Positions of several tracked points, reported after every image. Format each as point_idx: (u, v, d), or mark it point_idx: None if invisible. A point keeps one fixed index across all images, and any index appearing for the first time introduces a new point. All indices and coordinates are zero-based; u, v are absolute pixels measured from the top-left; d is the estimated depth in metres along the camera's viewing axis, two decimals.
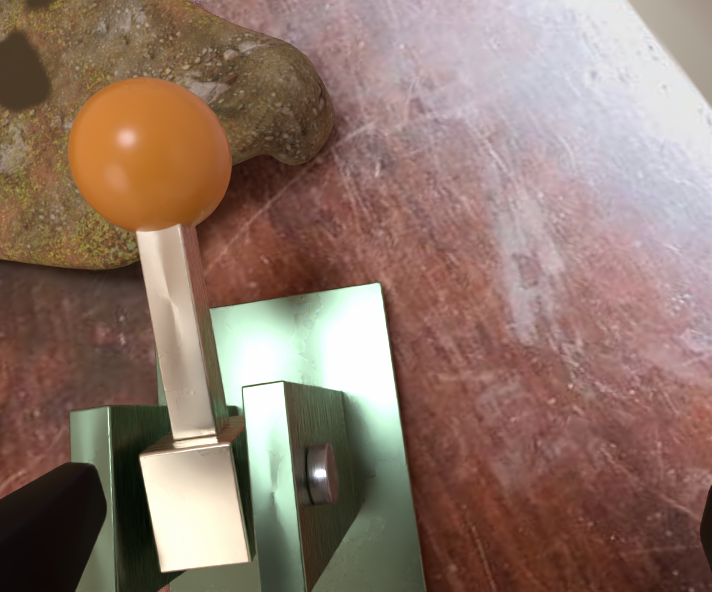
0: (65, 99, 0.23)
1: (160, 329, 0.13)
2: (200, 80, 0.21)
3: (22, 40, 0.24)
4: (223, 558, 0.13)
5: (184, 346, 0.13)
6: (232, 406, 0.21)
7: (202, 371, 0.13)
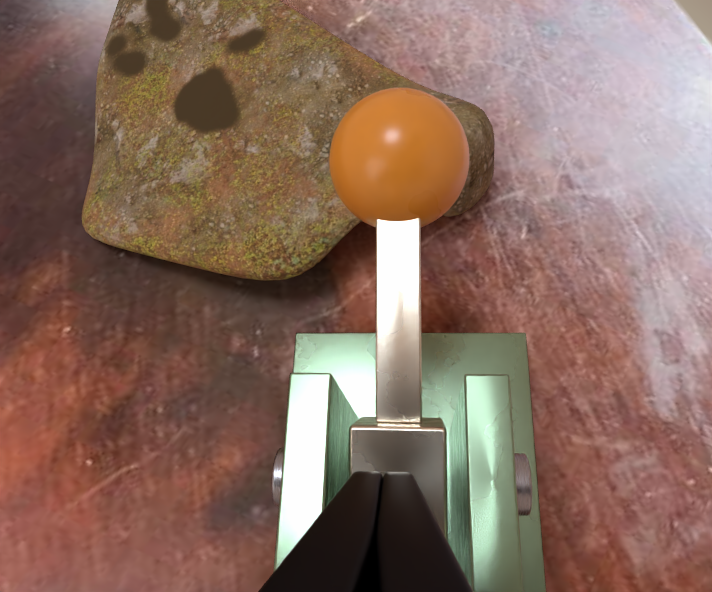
0: (251, 127, 0.25)
1: (384, 312, 0.14)
2: None
3: (218, 75, 0.27)
4: None
5: (404, 331, 0.14)
6: None
7: (416, 359, 0.14)
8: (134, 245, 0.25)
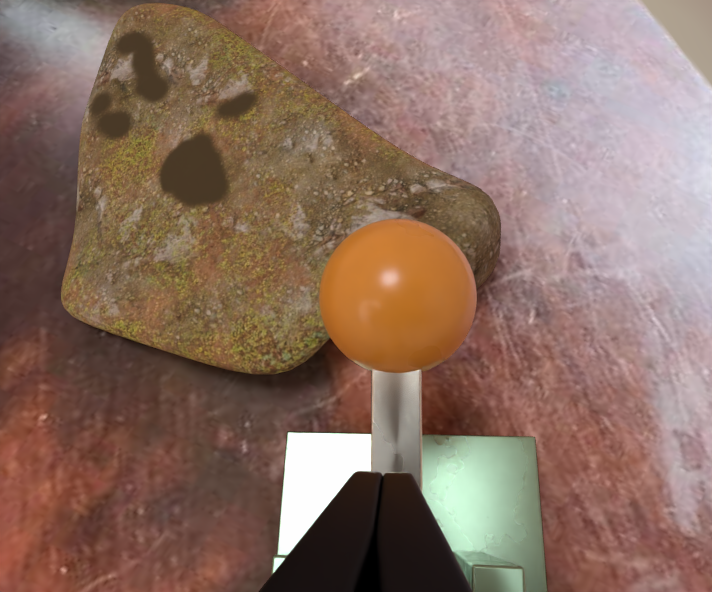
0: (240, 202, 0.23)
1: None
2: (383, 208, 0.21)
3: (207, 142, 0.25)
4: None
5: None
6: None
7: None
8: (115, 329, 0.23)
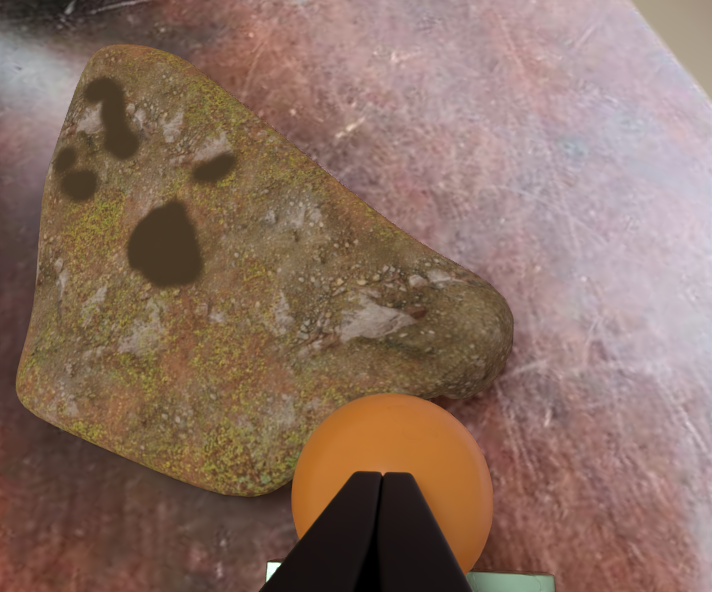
0: (216, 286, 0.21)
1: None
2: (378, 303, 0.18)
3: (180, 211, 0.22)
4: None
5: None
6: None
7: None
8: (74, 431, 0.20)
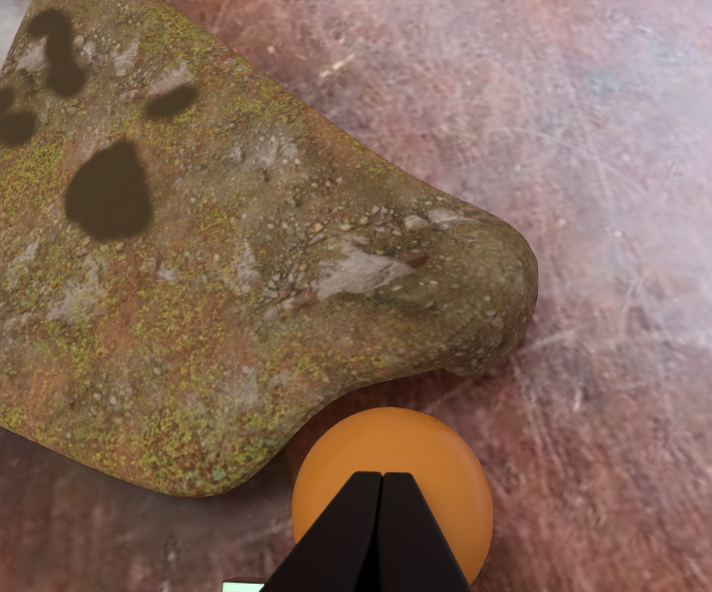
0: (167, 237, 0.17)
1: None
2: (366, 250, 0.14)
3: (129, 152, 0.19)
4: None
5: None
6: None
7: None
8: None
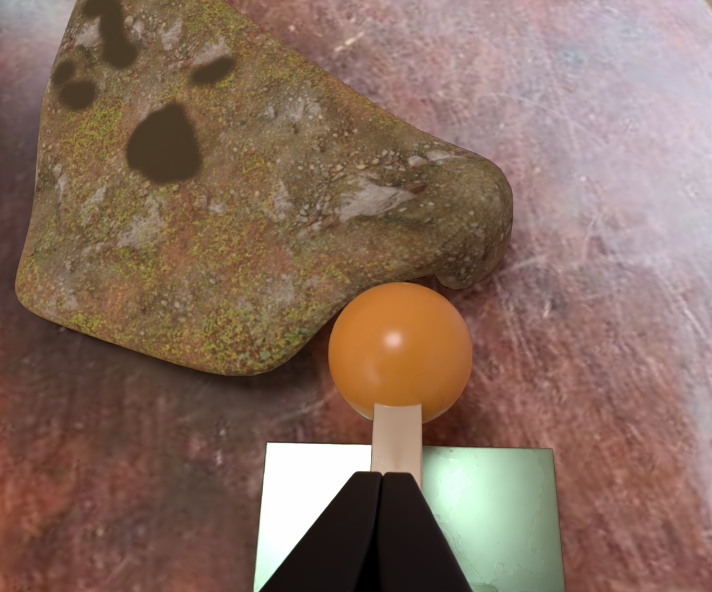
0: (215, 179, 0.21)
1: None
2: (377, 183, 0.18)
3: (179, 112, 0.22)
4: None
5: None
6: None
7: None
8: (73, 323, 0.20)
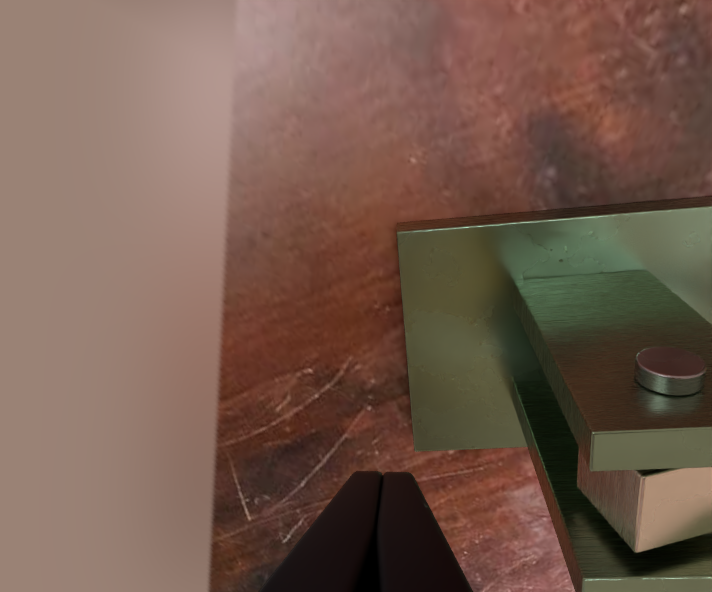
0: None
1: None
2: None
3: None
4: (646, 532, 0.13)
5: None
6: None
7: None
8: None
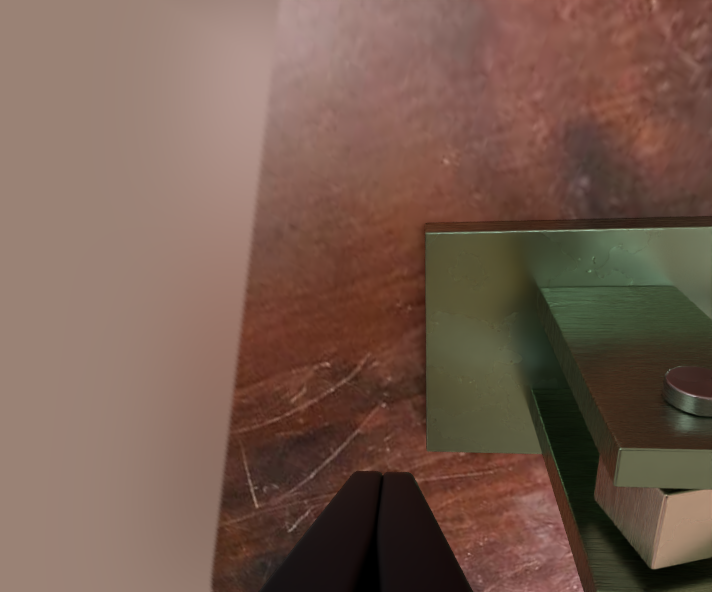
0: None
1: None
2: None
3: None
4: (664, 549, 0.13)
5: None
6: None
7: None
8: None
